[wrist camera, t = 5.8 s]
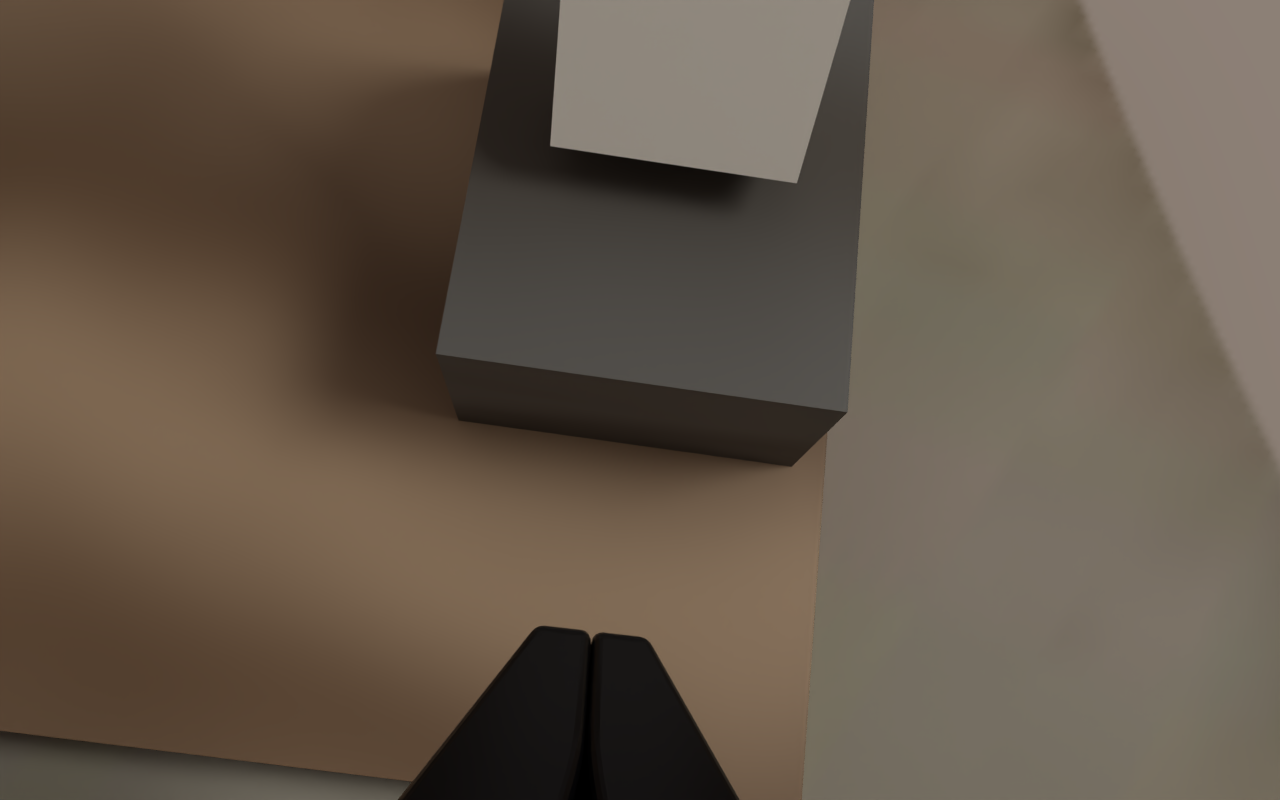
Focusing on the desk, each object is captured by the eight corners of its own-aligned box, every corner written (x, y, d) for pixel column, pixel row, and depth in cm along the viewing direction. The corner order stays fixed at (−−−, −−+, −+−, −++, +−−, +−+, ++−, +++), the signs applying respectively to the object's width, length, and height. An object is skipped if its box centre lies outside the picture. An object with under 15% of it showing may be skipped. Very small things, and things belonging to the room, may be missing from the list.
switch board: (783, 820, 15) (864, 864, 11) (-660, 642, 14) (-1126, 620, 10) (843, 12, 19) (918, -165, 15) (-266, -165, 18) (-489, -400, 14)
